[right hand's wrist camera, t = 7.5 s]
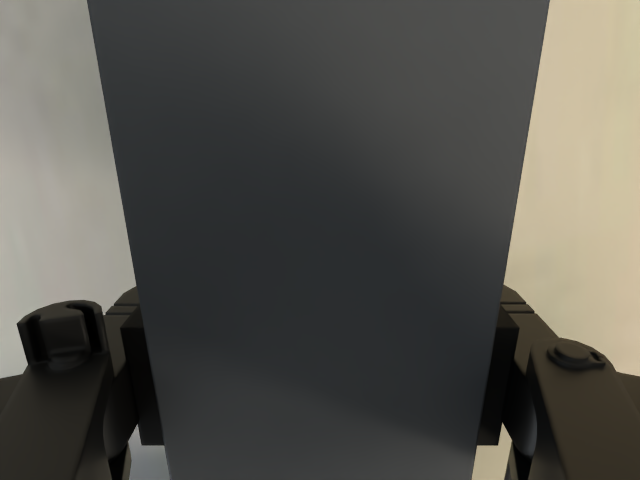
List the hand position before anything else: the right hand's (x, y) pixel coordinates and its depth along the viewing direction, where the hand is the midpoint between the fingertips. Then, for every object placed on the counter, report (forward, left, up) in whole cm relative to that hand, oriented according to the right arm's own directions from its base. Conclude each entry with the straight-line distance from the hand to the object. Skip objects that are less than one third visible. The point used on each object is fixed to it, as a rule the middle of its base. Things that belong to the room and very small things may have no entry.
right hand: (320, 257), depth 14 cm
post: (+17, -19, -1) cm, 25 cm away
